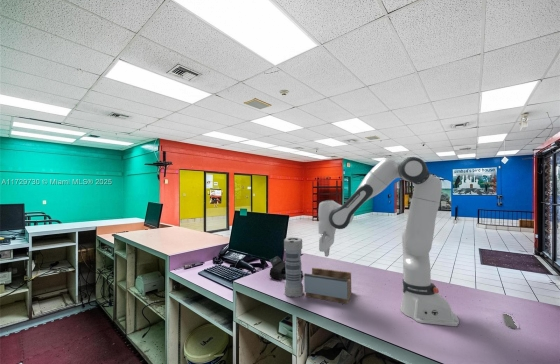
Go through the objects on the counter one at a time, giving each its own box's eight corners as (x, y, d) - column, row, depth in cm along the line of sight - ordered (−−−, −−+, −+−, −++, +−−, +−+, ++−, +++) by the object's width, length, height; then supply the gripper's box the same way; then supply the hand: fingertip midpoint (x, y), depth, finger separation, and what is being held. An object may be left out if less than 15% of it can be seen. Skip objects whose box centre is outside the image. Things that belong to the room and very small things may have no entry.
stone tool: (522, 329, 97) (505, 323, 100) (521, 333, 97) (504, 327, 100) (516, 315, 108) (501, 310, 111) (515, 318, 109) (500, 313, 112)
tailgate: (347, 298, 121) (347, 279, 121) (346, 299, 120) (346, 280, 120) (305, 290, 130) (305, 273, 130) (304, 292, 129) (304, 274, 129)
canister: (302, 298, 128) (301, 241, 129) (283, 296, 130) (282, 240, 131) (304, 290, 138) (303, 237, 138) (286, 288, 140) (285, 236, 140)
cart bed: (351, 292, 134) (351, 272, 134) (347, 303, 122) (347, 281, 122) (312, 286, 143) (312, 267, 143) (305, 296, 130) (305, 275, 131)
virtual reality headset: (277, 268, 173) (279, 254, 173) (306, 277, 164) (308, 263, 163) (264, 276, 156) (266, 261, 156) (295, 288, 147) (298, 272, 146)
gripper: (328, 234, 120) (328, 262, 120) (336, 227, 139) (336, 251, 139) (315, 233, 123) (316, 260, 122) (325, 226, 141) (325, 250, 141)
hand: (326, 255), depth 131 cm, fingers closed
